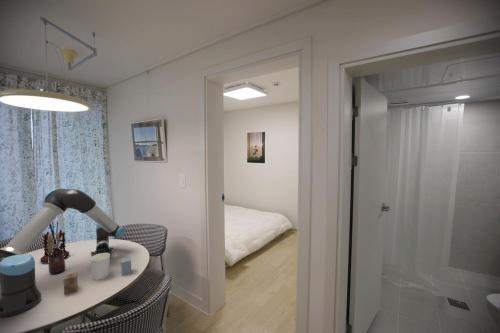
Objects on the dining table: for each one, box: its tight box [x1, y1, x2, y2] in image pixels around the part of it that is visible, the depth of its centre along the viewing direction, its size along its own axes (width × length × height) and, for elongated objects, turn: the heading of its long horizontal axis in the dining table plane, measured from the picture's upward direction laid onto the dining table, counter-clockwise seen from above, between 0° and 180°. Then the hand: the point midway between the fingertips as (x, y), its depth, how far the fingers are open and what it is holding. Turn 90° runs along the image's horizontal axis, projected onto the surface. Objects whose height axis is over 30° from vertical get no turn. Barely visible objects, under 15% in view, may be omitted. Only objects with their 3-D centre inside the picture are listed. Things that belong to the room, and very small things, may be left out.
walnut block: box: [63, 272, 78, 295], centre depth 116 cm, size 5×5×8 cm
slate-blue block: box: [120, 257, 132, 276], centre depth 133 cm, size 5×5×8 cm
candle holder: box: [89, 252, 111, 281], centre depth 129 cm, size 10×10×12 cm
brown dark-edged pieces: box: [40, 229, 70, 265], centre depth 149 cm, size 15×15×20 cm
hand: (101, 261), depth 134 cm, fingers closed
